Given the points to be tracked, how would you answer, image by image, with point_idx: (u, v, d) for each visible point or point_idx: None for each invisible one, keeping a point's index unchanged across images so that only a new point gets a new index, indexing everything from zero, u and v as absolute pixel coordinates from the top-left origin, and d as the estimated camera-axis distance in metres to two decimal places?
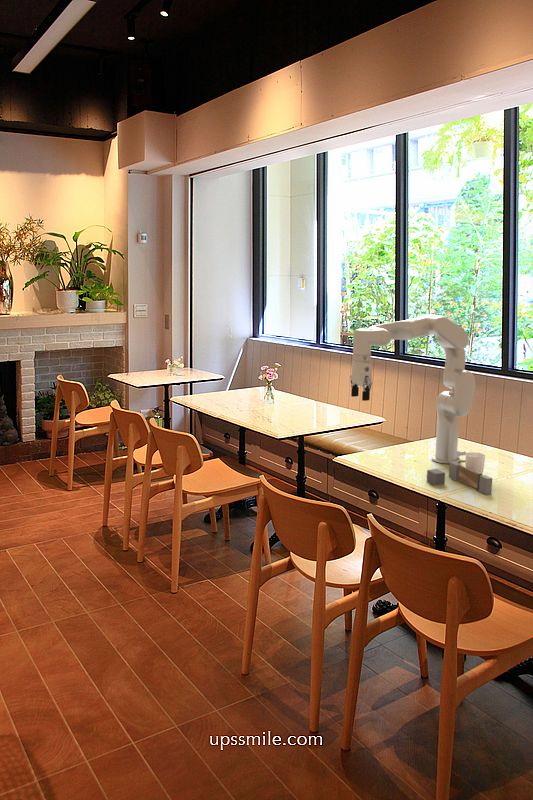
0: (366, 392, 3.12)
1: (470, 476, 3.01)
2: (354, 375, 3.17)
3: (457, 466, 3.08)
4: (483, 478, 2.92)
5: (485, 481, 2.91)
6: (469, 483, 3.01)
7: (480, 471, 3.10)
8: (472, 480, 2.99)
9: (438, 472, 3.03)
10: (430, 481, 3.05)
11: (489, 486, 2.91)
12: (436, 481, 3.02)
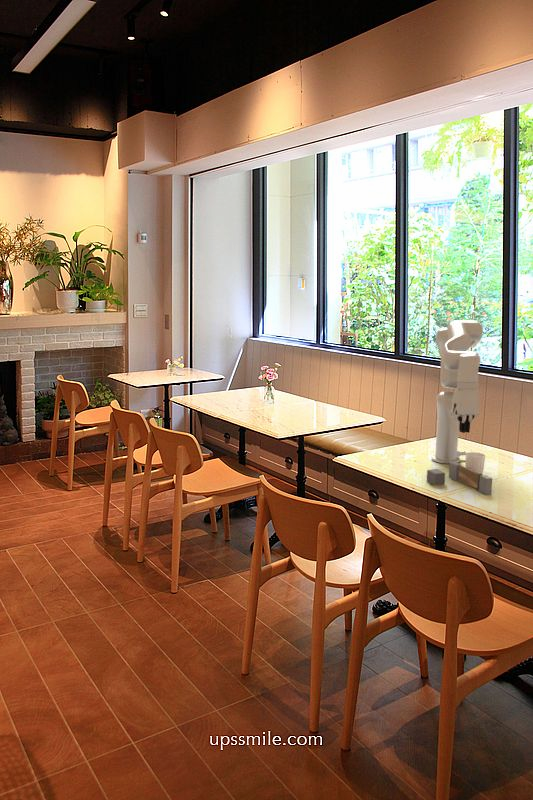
0: None
1: (470, 476, 3.01)
2: (466, 405, 2.90)
3: (457, 466, 3.08)
4: (483, 478, 2.92)
5: (485, 481, 2.91)
6: (469, 483, 3.01)
7: (480, 471, 3.10)
8: (472, 480, 2.99)
9: (438, 472, 3.03)
10: (430, 481, 3.05)
11: (489, 486, 2.91)
12: (436, 481, 3.02)
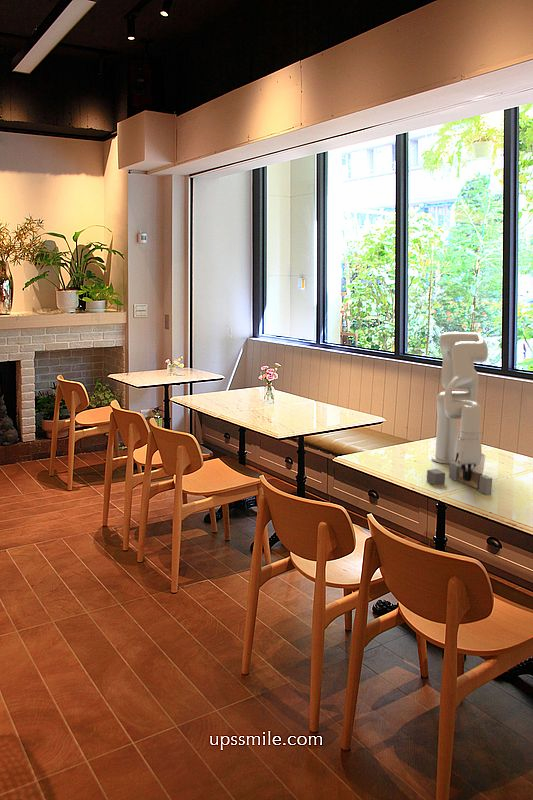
0: None
1: None
2: (468, 455, 2.95)
3: None
4: (483, 478, 2.92)
5: (485, 481, 2.91)
6: (469, 483, 3.01)
7: (480, 471, 3.10)
8: (472, 480, 2.99)
9: (438, 472, 3.03)
10: (430, 481, 3.05)
11: (489, 486, 2.91)
12: (436, 481, 3.02)
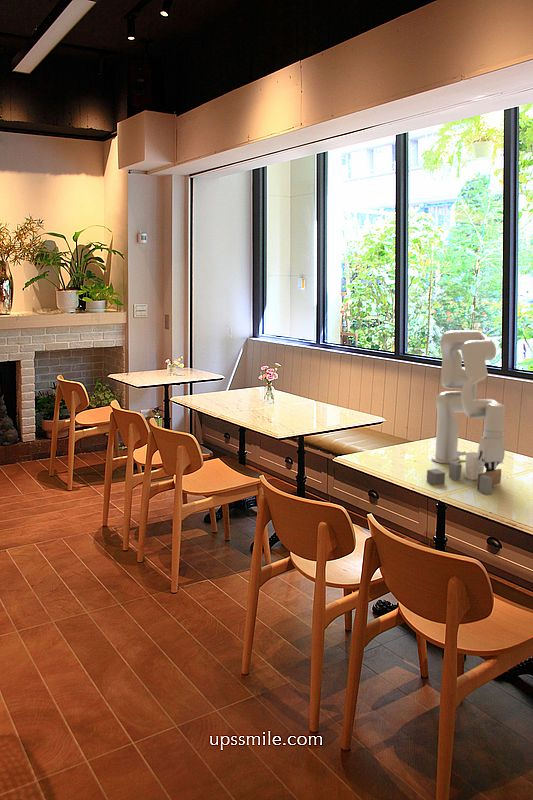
0: None
1: None
2: (492, 453, 2.99)
3: (457, 466, 3.08)
4: (483, 478, 2.92)
5: (485, 481, 2.91)
6: None
7: (480, 471, 3.10)
8: None
9: (438, 472, 3.03)
10: (430, 481, 3.05)
11: (489, 486, 2.91)
12: (436, 481, 3.02)
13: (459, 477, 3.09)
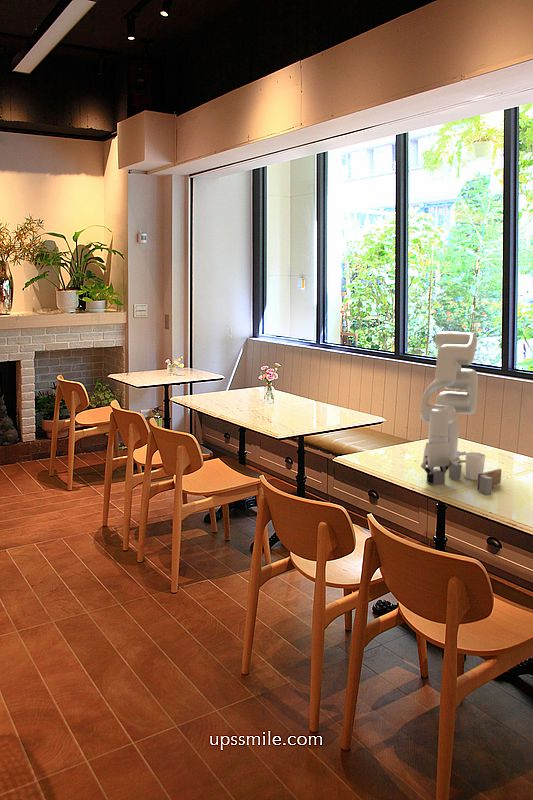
0: None
1: None
2: (437, 458, 3.01)
3: (457, 466, 3.08)
4: (483, 478, 2.92)
5: (485, 481, 2.91)
6: None
7: (480, 471, 3.10)
8: None
9: (438, 472, 3.03)
10: None
11: (489, 486, 2.91)
12: (436, 481, 3.02)
13: (459, 477, 3.09)
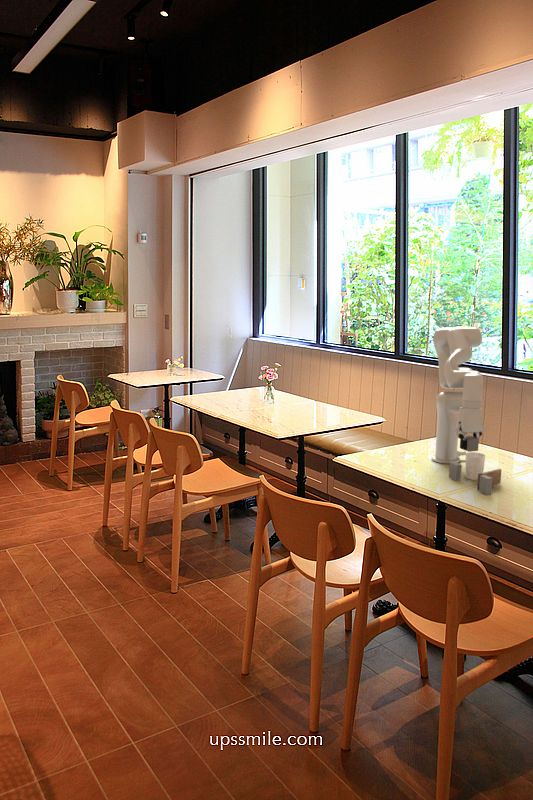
0: None
1: None
2: (471, 423, 2.98)
3: (457, 466, 3.08)
4: (483, 478, 2.92)
5: (485, 481, 2.91)
6: None
7: (480, 471, 3.10)
8: None
9: (472, 438, 3.00)
10: None
11: (489, 486, 2.91)
12: (470, 447, 2.99)
13: (459, 477, 3.09)
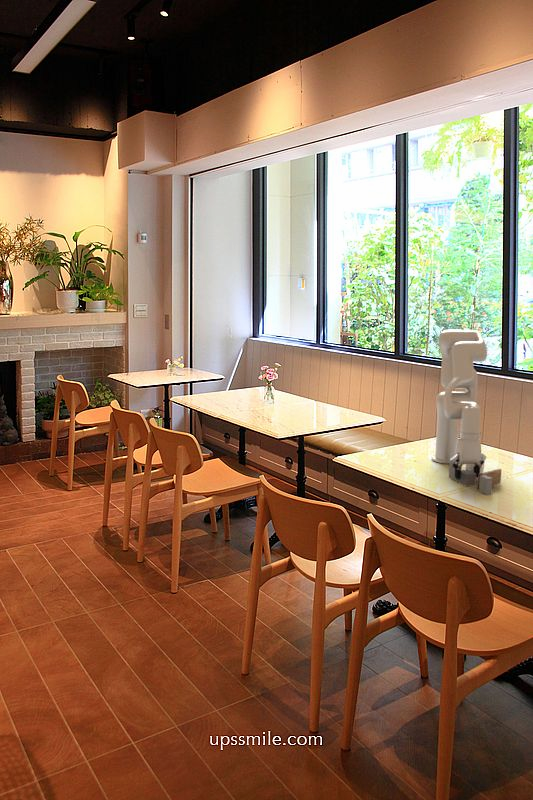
0: None
1: None
2: (468, 455, 3.00)
3: None
4: (483, 478, 2.92)
5: (485, 481, 2.91)
6: None
7: (480, 471, 3.10)
8: None
9: (469, 473, 3.03)
10: (461, 482, 3.04)
11: (489, 486, 2.91)
12: (468, 482, 3.02)
13: None
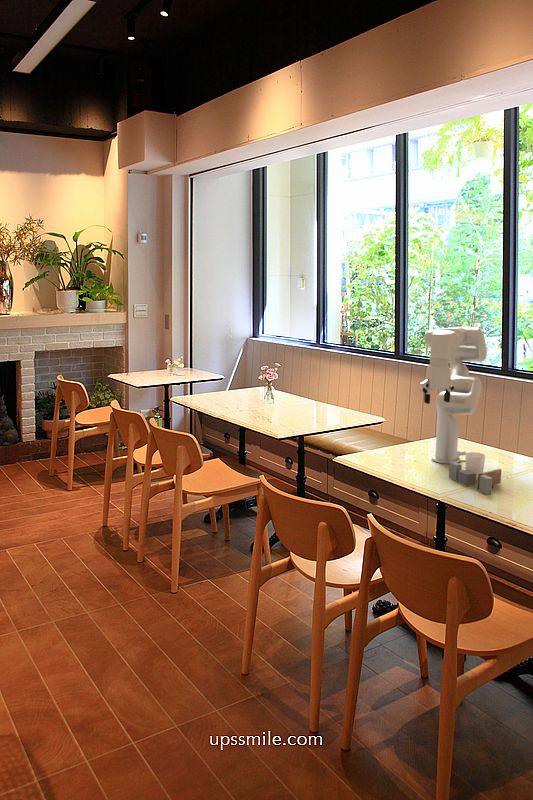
0: None
1: None
2: (438, 380, 3.11)
3: (457, 466, 3.08)
4: (483, 478, 2.92)
5: (485, 481, 2.91)
6: None
7: (480, 471, 3.10)
8: None
9: (469, 473, 3.03)
10: (461, 482, 3.04)
11: (489, 486, 2.91)
12: (468, 482, 3.02)
13: None
